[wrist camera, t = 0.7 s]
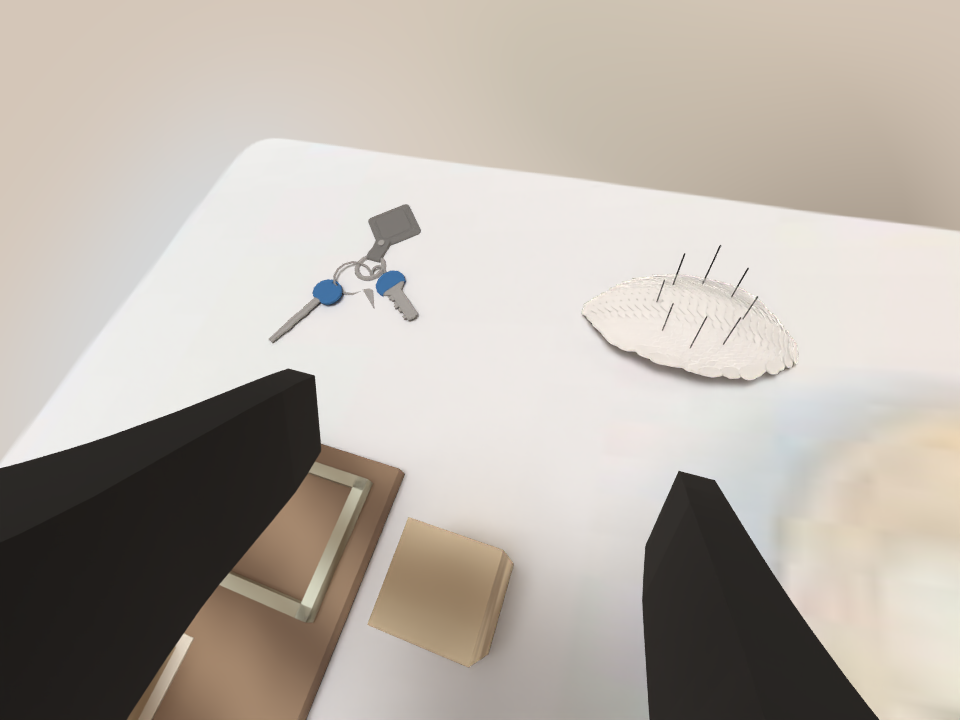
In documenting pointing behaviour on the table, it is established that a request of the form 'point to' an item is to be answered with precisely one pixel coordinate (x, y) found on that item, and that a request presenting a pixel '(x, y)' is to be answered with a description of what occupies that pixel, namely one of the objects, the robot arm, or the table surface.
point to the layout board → (280, 603)
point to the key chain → (386, 233)
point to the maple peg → (443, 593)
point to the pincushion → (694, 325)
